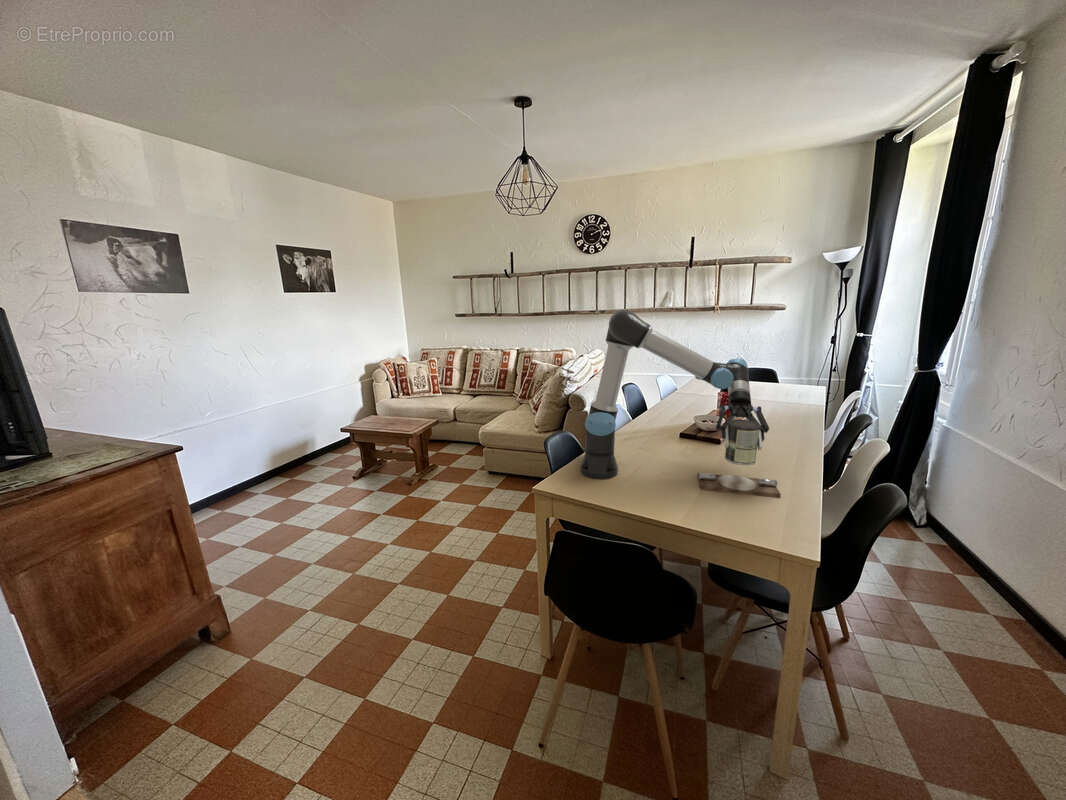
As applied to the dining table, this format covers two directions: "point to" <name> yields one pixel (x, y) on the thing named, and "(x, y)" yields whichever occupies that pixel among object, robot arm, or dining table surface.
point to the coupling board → (738, 485)
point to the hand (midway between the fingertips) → (743, 447)
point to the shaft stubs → (761, 481)
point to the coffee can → (742, 442)
